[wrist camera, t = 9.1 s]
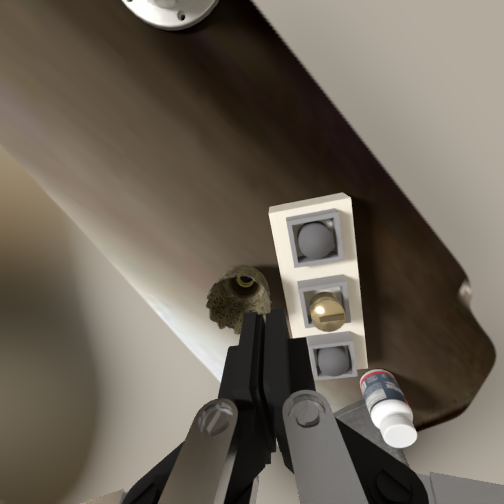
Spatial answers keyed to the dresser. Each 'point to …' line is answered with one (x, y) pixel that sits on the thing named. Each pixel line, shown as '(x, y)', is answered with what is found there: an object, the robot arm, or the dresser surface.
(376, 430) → the flask
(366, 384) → the pill bottle
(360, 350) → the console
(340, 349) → the button
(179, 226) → the dresser surface
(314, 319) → the brass knob
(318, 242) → the button
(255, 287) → the olive hollow bell-shaped piece
